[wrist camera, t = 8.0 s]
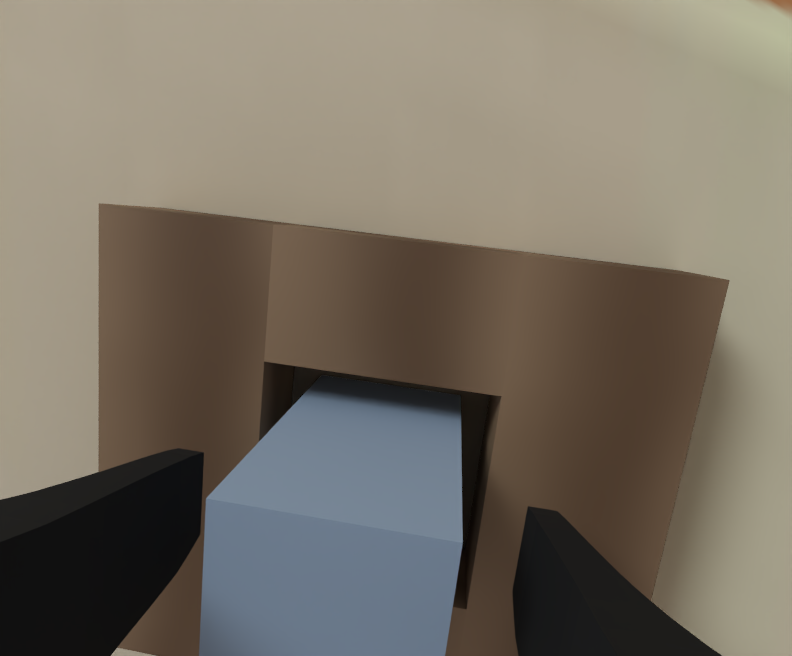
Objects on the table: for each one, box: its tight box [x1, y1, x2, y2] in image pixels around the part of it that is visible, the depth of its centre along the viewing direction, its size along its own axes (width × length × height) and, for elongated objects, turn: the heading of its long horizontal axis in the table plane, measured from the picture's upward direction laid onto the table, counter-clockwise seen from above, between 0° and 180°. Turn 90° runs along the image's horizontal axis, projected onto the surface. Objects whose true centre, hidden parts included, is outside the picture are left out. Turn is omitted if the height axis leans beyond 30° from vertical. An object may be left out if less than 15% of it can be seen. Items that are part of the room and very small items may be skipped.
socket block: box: [99, 204, 729, 656], centre depth 14 cm, size 14×12×2 cm
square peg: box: [199, 375, 463, 656], centre depth 12 cm, size 4×4×7 cm
